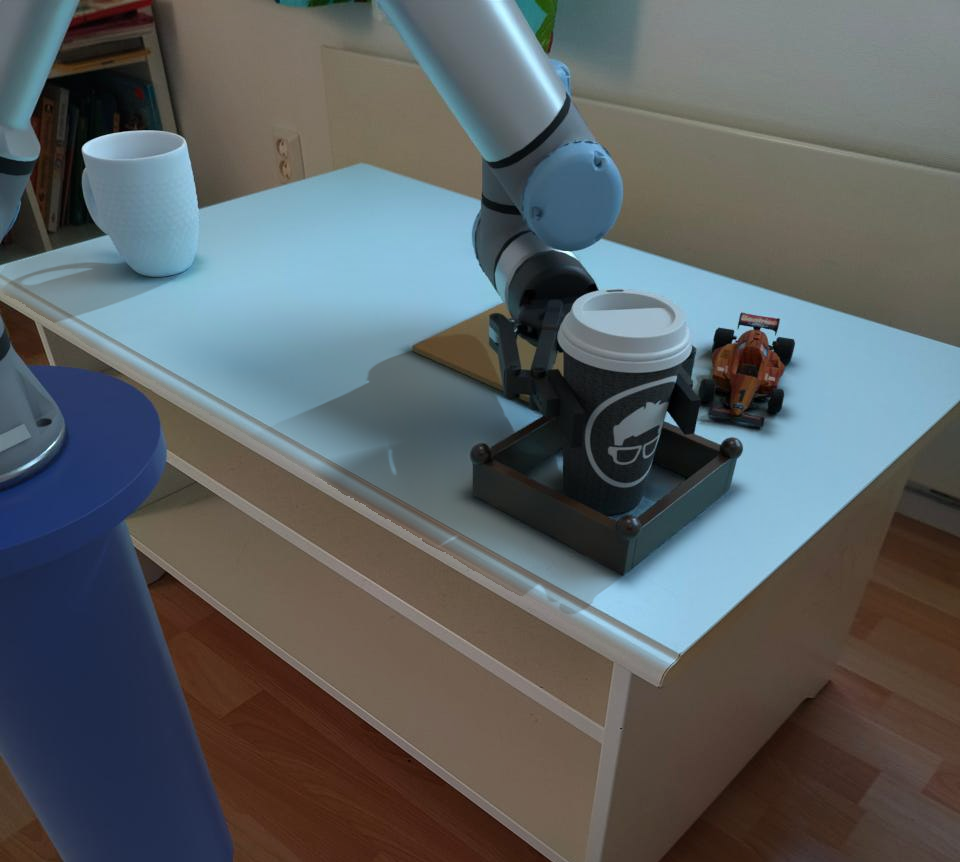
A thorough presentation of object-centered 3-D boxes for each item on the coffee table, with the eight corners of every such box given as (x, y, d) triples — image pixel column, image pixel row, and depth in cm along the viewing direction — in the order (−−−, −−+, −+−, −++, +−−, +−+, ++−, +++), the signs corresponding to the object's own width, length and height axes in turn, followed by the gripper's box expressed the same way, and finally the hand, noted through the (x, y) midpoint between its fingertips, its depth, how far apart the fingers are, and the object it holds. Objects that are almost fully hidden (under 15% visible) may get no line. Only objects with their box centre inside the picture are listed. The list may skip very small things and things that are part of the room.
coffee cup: (665, 468, 75) (701, 292, 64) (655, 535, 68) (693, 351, 58) (554, 451, 76) (571, 277, 66) (533, 515, 69) (549, 332, 59)
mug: (69, 267, 104) (31, 145, 95) (135, 237, 111) (105, 120, 102) (168, 292, 100) (137, 165, 90) (230, 258, 107) (207, 138, 97)
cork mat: (411, 351, 90) (411, 345, 89) (502, 307, 97) (502, 302, 97) (550, 412, 81) (550, 406, 81) (638, 360, 89) (638, 354, 88)
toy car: (690, 418, 81) (699, 373, 78) (714, 340, 92) (723, 299, 89) (777, 433, 79) (790, 388, 76) (791, 352, 90) (802, 310, 87)
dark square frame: (465, 495, 72) (464, 444, 68) (583, 421, 80) (588, 372, 77) (625, 580, 64) (633, 528, 61) (737, 488, 73) (749, 438, 69)
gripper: (651, 323, 83) (759, 453, 67) (433, 344, 79) (492, 486, 63) (663, 240, 78) (783, 360, 62) (431, 259, 74) (494, 390, 58)
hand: (636, 423), depth 63 cm, fingers closed on coffee cup, 8 cm apart
